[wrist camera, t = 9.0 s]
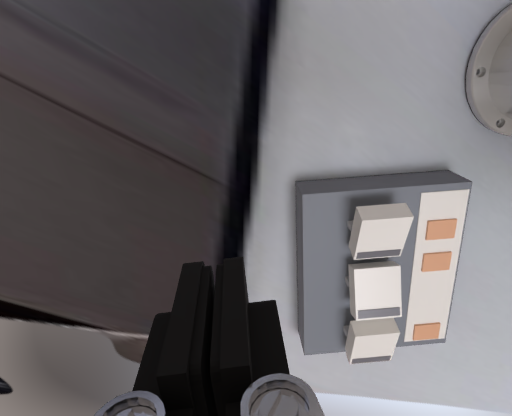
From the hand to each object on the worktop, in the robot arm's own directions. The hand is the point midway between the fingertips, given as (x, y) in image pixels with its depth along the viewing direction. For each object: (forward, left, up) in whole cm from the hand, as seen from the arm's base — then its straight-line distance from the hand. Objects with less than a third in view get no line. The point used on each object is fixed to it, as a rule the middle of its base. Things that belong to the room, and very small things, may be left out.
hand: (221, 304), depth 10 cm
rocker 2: (-13, +21, -20) cm, 32 cm away
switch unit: (-14, +15, -27) cm, 34 cm away
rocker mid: (-13, +15, -20) cm, 28 cm away
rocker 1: (-13, +8, -20) cm, 25 cm away
